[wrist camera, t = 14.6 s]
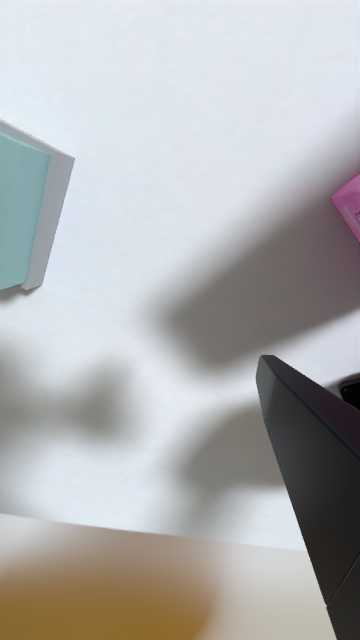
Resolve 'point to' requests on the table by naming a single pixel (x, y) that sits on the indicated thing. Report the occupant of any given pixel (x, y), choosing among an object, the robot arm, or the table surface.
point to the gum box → (349, 204)
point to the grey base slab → (45, 203)
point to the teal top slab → (19, 205)
